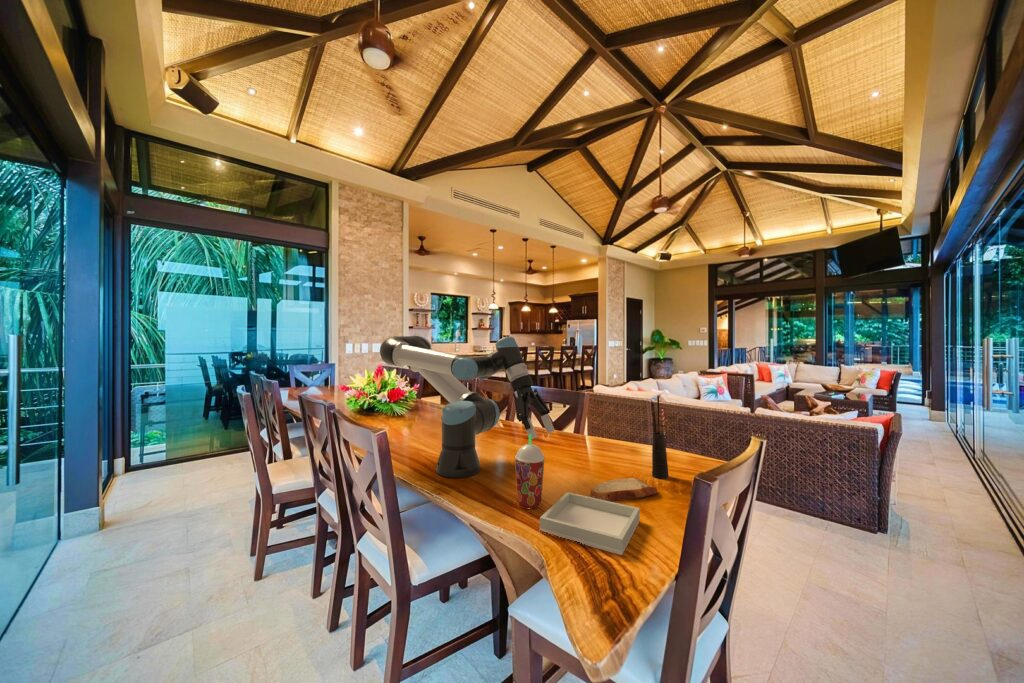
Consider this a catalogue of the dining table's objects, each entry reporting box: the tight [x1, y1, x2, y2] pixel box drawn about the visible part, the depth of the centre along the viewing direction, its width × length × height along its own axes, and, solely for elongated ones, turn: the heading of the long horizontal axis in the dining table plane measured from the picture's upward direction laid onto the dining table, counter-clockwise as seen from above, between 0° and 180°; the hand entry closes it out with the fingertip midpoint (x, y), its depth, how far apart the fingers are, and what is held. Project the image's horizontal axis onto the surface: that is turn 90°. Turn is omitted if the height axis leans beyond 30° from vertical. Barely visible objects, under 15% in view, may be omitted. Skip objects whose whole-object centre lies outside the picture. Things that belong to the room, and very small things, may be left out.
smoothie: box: [514, 434, 546, 510], centre depth 112 cm, size 8×8×20 cm
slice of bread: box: [589, 477, 658, 502], centre depth 121 cm, size 18×18×4 cm
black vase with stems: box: [651, 394, 669, 480], centre depth 136 cm, size 9×10×28 cm
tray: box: [539, 492, 641, 556], centre depth 100 cm, size 20×18×4 cm
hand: (542, 435), depth 135 cm, fingers open, 13 cm apart
